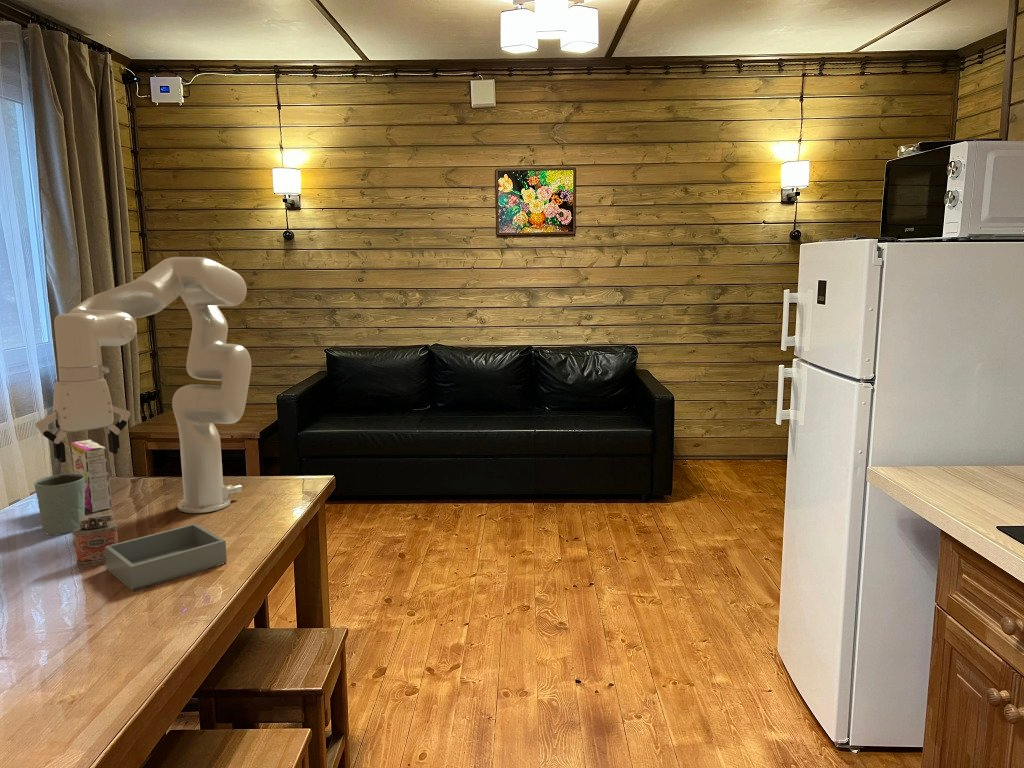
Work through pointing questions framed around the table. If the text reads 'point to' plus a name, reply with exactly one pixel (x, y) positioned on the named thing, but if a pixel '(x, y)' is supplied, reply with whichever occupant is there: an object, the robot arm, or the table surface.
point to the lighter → (94, 539)
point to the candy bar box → (92, 473)
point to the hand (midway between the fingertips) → (88, 456)
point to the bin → (164, 556)
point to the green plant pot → (61, 502)
